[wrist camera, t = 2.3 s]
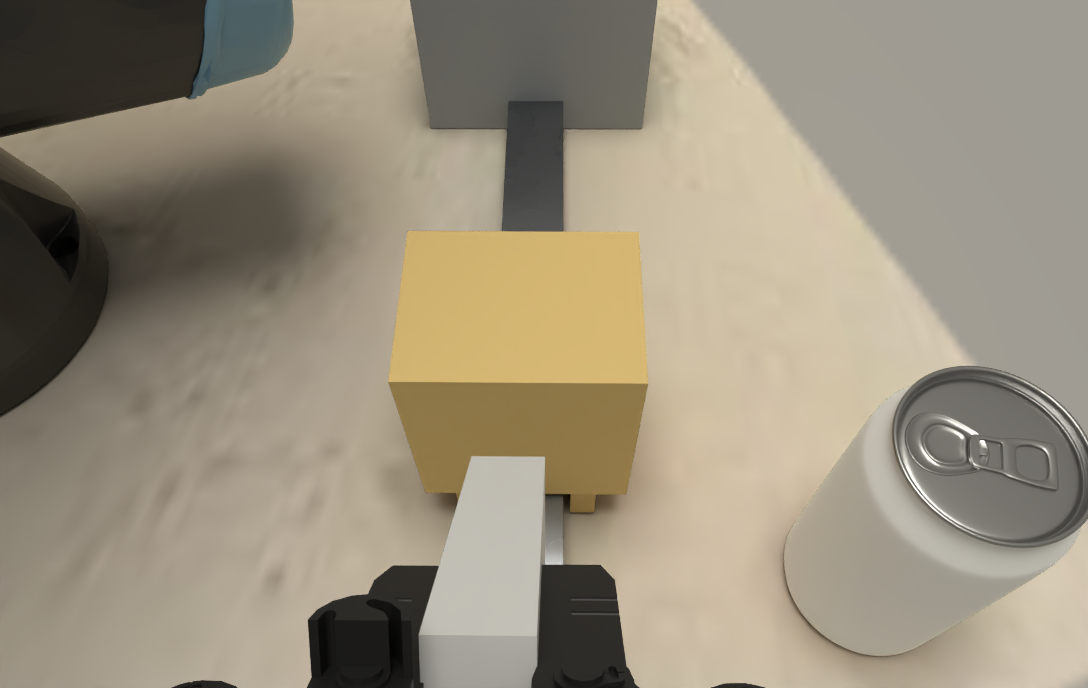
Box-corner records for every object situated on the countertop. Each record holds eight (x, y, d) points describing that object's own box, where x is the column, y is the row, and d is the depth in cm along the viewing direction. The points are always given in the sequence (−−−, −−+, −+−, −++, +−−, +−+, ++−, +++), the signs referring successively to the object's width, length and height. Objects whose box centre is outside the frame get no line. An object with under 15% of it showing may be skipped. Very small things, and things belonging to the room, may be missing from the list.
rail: (562, 585, 34) (563, 570, 32) (488, 584, 34) (485, 570, 32) (562, 128, 47) (563, 100, 46) (510, 128, 47) (508, 101, 46)
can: (787, 485, 36) (881, 333, 26) (943, 519, 35) (1104, 377, 25) (772, 635, 32) (873, 531, 22) (944, 678, 32) (1130, 589, 21)
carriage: (622, 512, 35) (647, 383, 26) (431, 510, 35) (388, 381, 26) (617, 387, 38) (638, 232, 29) (442, 386, 38) (407, 230, 29)
